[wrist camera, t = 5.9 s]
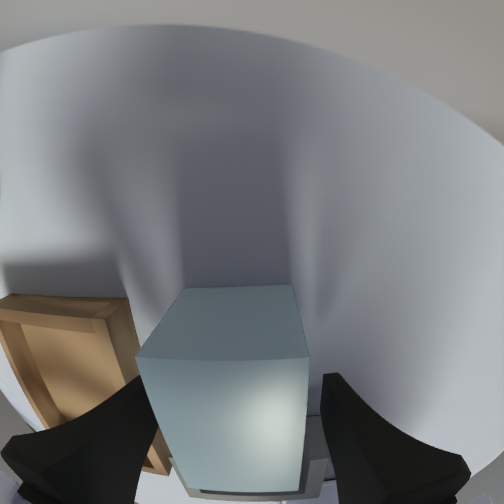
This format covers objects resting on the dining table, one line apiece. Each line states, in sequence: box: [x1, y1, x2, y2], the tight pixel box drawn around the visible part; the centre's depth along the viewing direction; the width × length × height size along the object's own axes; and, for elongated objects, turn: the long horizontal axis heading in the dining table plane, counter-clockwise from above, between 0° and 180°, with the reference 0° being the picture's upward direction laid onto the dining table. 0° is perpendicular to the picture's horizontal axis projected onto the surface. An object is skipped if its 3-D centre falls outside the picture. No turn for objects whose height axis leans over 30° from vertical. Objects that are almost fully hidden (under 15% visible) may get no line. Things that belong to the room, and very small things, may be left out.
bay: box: [168, 415, 329, 502], centre depth 14 cm, size 6×9×4 cm, turn 94°
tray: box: [0, 294, 172, 476], centre depth 14 cm, size 13×11×2 cm
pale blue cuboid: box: [135, 284, 310, 492], centre depth 11 cm, size 8×5×6 cm, turn 4°
